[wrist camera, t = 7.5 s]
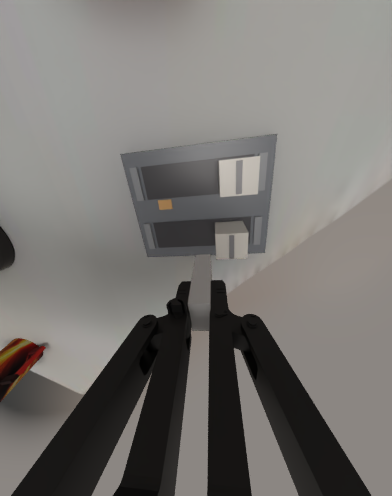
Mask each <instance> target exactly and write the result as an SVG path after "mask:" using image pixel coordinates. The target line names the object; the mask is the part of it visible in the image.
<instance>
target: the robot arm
mask: <svg viewBox="0 0 392 496" xmlns="http://www.w3.org/2000/svg"><path fill="white" fill-rule="evenodd" d="M13 260H14V251H13V248H12V245H11V243H10V241H9V239H8V238H7V236H6V235H5V233H4V232H3V231H2V229H1V228H0V271H1V270H3V269H5V268H7V267H9V266H10V265H11V264H12V263H13ZM167 309H168V314H167V315H165V316H163V317H159V318H156V317H155V316H154V315H146V316H144V317H142V318H141V319H140V320H139V321H138V323H137V324H136V325H135V327H134V328H133V329H132V331H131V332H130V334H129V335H128V336H127V338H126V339H125V340H124V342H123V343H122V345H121V346H120V347H119V349H118V350H117V351H116V353H115V354H114V355H113V357H112V358H111V360H110V361H109V362H108V364H107V365H106V366H105V368H104V369H103V371H102V372H101V373H100V375H99V376H98V377H97V379H96V380H95V382H94V383H93V384H92V386H91V387H90V388H89V390H88V391H87V392H86V394H85V395H84V397H83V398H82V399H81V401H80V402H79V403H78V405H77V406H76V408H75V409H74V411H73V412H72V413H71V414H70V416H69V417H68V419H67V420H66V421H65V423H64V424H63V425H62V427H61V428H60V429H59V431H58V432H57V434H56V435H55V436H54V438H53V439H52V440H51V442H50V443H49V445H48V446H47V447H46V449H45V450H44V451H43V453H42V454H41V456H40V457H39V458H38V460H37V461H36V462H35V464H34V465H33V467H32V468H31V469H30V471H29V472H28V473H27V475H26V476H25V478H24V479H23V480H22V482H21V483H20V484H19V486H18V487H17V488H16V490H15V491H14V493H13V494H12V495H11V496H91V495H92V493H93V491H94V489H95V487H96V485H97V483H98V481H99V479H100V477H101V475H102V473H103V471H104V469H105V467H106V465H107V463H108V460H109V458H110V456H111V455H112V453H113V450H114V448H115V446H116V444H117V442H118V440H119V438H120V436H121V434H122V432H123V430H124V428H125V426H126V424H127V422H128V420H129V418H130V415H131V414H132V412H133V410H134V408H135V405H136V404H137V401H138V400H139V398H140V395H141V393H142V391H143V389H144V387H145V385H146V383H147V381H148V379H149V377H150V375H151V373H152V375H151V378H150V382H149V385H148V389H147V393H146V396H145V400H144V403H143V407H142V411H141V414H140V418H139V421H138V425H137V428H136V432H135V435H134V439H133V443H132V446H131V450H130V453H129V457H128V460H127V464H126V468H125V471H124V475H123V478H122V481H121V483H120V485H119V487H118V489H117V490H116V492H115V493H114V495H113V496H174V495H175V485H176V476H177V466H178V458H179V447H180V439H181V430H182V420H183V411H184V402H185V393H186V383H187V374H188V365H189V355H190V347H191V327H192V331H209V408H208V415H209V416H208V491H207V496H252V495H251V486H250V478H249V470H248V463H247V454H246V446H245V437H244V429H243V421H242V413H241V404H240V396H239V388H238V380H237V372H236V364H235V355H234V348H236V349H239V350H241V353H242V355H243V358H244V360H245V362H246V365H247V367H248V370H249V372H250V375H251V377H252V380H253V382H254V385H255V387H256V390H257V392H258V395H259V397H260V400H261V402H262V405H263V407H264V410H265V412H266V415H267V417H268V420H269V422H270V425H271V427H272V430H273V432H274V435H275V437H276V440H277V442H278V445H279V447H280V450H281V452H282V454H283V457H284V460H285V462H286V464H287V467H288V470H289V472H290V475H291V477H292V479H293V482H294V484H295V487H296V489H297V492H298V495H299V496H371V494H370V493H369V491H368V489H367V488H366V486H365V485H364V483H363V481H362V480H361V478H360V476H359V475H358V473H357V472H356V470H355V468H354V467H353V465H352V464H351V462H350V460H349V459H348V457H347V456H346V454H345V452H344V451H343V449H342V448H341V446H340V444H339V443H338V442H337V440H336V438H335V437H334V435H333V433H332V432H331V430H330V428H329V427H328V425H327V424H326V422H325V420H324V419H323V417H322V416H321V414H320V412H319V411H318V409H317V408H316V406H315V404H314V403H313V401H312V400H311V398H310V397H309V395H308V393H307V392H306V390H305V388H304V387H303V385H302V384H301V382H300V380H299V379H298V377H297V375H296V374H295V372H294V371H293V369H292V367H291V366H290V365H289V363H288V361H287V359H286V358H285V356H284V355H283V353H282V351H281V350H280V348H279V347H278V345H277V343H276V342H275V340H274V339H273V337H272V335H271V334H270V332H269V331H268V329H267V327H266V326H265V324H264V323H263V321H262V320H261V319H260V317H258V316H256V315H253V314H247V315H244V316H243V317H240V316H237V315H234V314H233V313H231V312H230V310H229V309H228V303H227V295H226V286H225V283H224V282H223V280H212V271H211V256H210V254H203V255H196V256H195V262H194V268H193V274H192V280H191V281H187V282H181V284H180V285H179V287H178V291H177V294H176V298H174V299H172V300H170V301H169V302H168V303H167Z"/></svg>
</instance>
